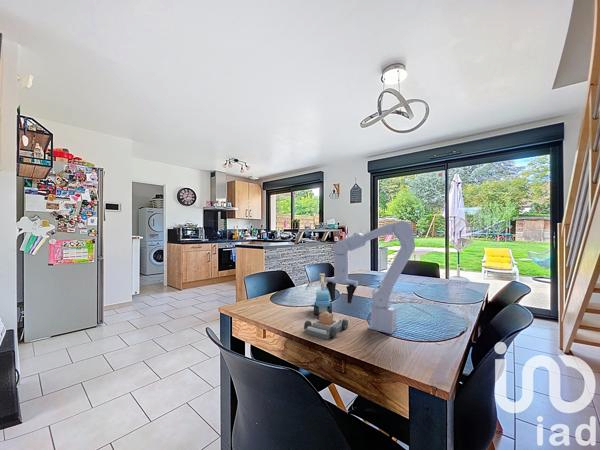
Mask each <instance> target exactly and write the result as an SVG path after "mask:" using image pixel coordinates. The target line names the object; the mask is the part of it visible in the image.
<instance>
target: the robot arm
mask: <svg viewBox="0 0 600 450" xmlns="http://www.w3.org/2000/svg"><path fill="white" fill-rule="evenodd" d="M385 235H388V236H394V235H395V237H396V238H397V239H398V243H399V245H400V248H399V250H398V252H397V253H396V255H395V257H394V259H393V260H392V262H391V264H390V266H389V268H388V270H387V271H386V273H385V275H384V277H383V279H382V280H381V281H380V282H379V284H378V286H377V287H375V288H374V289H373V290H372V297H371V300H372V302H371V303H370V308H371V309H370V313H371V314H370V317H371V318H370V319H371V320H370V324H369V325H368V326H367V329H368V330H373V331H378V332H383V333H386V334H391V335H392V334H393V333H394V332H395V331H396V329H397V328H398V327H397V309H396V308H394V307H392V306H391V304H390V296H391V294H392V292H393V288H394V286H395V285H396V283H397V281H398V279H399V277H400V275H401V273H402V272H403V271H404V268H405V267H406V265H407V263H408V262H409V260H410V258H411V256H412V255H413V253H414V251H415V249H416V244H415V243H416V242H415V236H414V235H415V232H414V229H413V227H412V225H411V224H410V222H408V221H405V220H400V221H397V222H393V223H389V224H385V225H382V226H379V227H378V228H376V229H373V230H371V231H368V232H366V233H365V234H363V233H361V232H354V233H353V235H351V236H347V237H343V238H342V239H340V240H338V241H336V242H335V243H334V244H333V251H334V258H333V259H334V263H333V265H334V266H333V268H334V269H333V272H334V274H333V277H326V276H325V283H326V284H325V286H326V289H327V291H329V297H330V301H335V300H336V286H337V284H338V285H346V287H345V288H346V292H347V304H351V303H352V300H353V296H354V293H355V291H356V290H357V287H358V286H359V280H355V279H354V280H353V279H349V258H348V252H352V251H354V250H357V249H360V248H362V247H364V246H366V244H367V242H368V241H370V240H373V239H376V238H380V237H382V236H385Z"/></svg>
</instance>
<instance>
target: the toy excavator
mask: <svg viewBox="0 0 600 450" xmlns="http://www.w3.org/2000/svg"><path fill="white" fill-rule="evenodd" d="M318 277H319V278H318V279H319V280H318V282H319V283H320V289H321V290H317V291H316V295H315V302H314V305H313V315H314V316H315V315H316V316H318V315H319V314H322V313H324V312H329V313H331V314H333V303H332V302H331V297H330V293H329V290H325V283H326V282H325V278H326V274H325V273H319V274H318Z"/></svg>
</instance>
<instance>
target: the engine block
mask: <svg viewBox="0 0 600 450" xmlns="http://www.w3.org/2000/svg"><path fill="white" fill-rule="evenodd" d="M319 314H320V315H319ZM319 314H318V315H319V323H320V324H324V325H329V326H330V325H332V324H333V318H334V313H332V314H331V313H329V312H324V313H319Z"/></svg>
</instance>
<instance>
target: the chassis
mask: <svg viewBox="0 0 600 450" xmlns="http://www.w3.org/2000/svg"><path fill="white" fill-rule="evenodd" d="M320 314H321V313H318V315H317V319H316V320H315V321H313V322H311V320H305V322H304V324H303V329H304V334H306V333H307V334H306V335H311V336H314V337H317V338H321V339H325V340H329V339H331V338H334V339H335V338H336V336H337V334H338V333H339V332H340V331H342V330H347V329H348V328H349V321H348V319H345V318H343V319H341V318H337V317H333V324H332V325H330V326H329V325H324V324H320V323H319V315H320ZM312 323H313V324H312Z"/></svg>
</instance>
